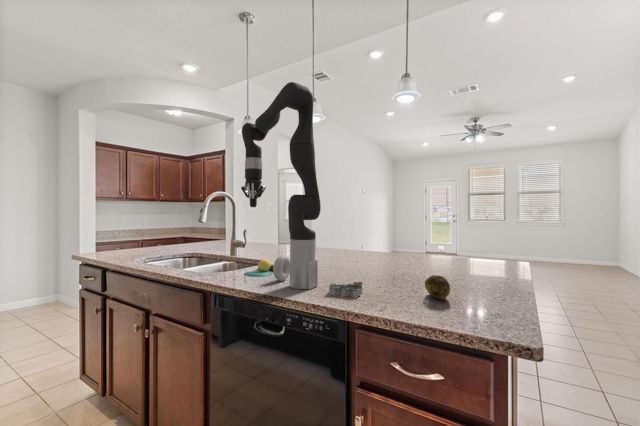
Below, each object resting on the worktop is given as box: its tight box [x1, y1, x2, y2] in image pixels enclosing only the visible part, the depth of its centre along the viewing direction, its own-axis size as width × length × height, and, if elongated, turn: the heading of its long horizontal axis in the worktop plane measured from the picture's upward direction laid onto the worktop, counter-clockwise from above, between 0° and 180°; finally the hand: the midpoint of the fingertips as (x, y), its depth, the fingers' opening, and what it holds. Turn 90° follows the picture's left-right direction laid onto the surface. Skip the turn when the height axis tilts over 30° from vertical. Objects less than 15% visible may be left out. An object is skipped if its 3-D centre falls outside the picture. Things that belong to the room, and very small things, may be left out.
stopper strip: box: [257, 264, 274, 272], centre depth 142 cm, size 14×2×2 cm, turn 61°
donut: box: [272, 254, 290, 282], centre depth 121 cm, size 10×4×10 cm, turn 155°
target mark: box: [243, 270, 273, 277], centre depth 134 cm, size 12×12×1 cm
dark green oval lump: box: [424, 274, 451, 300], centre depth 97 cm, size 8×13×8 cm, turn 149°
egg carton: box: [328, 281, 363, 298], centre depth 102 cm, size 11×8×4 cm
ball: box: [257, 258, 272, 271], centre depth 139 cm, size 6×6×6 cm
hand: (253, 207), depth 138 cm, fingers closed
